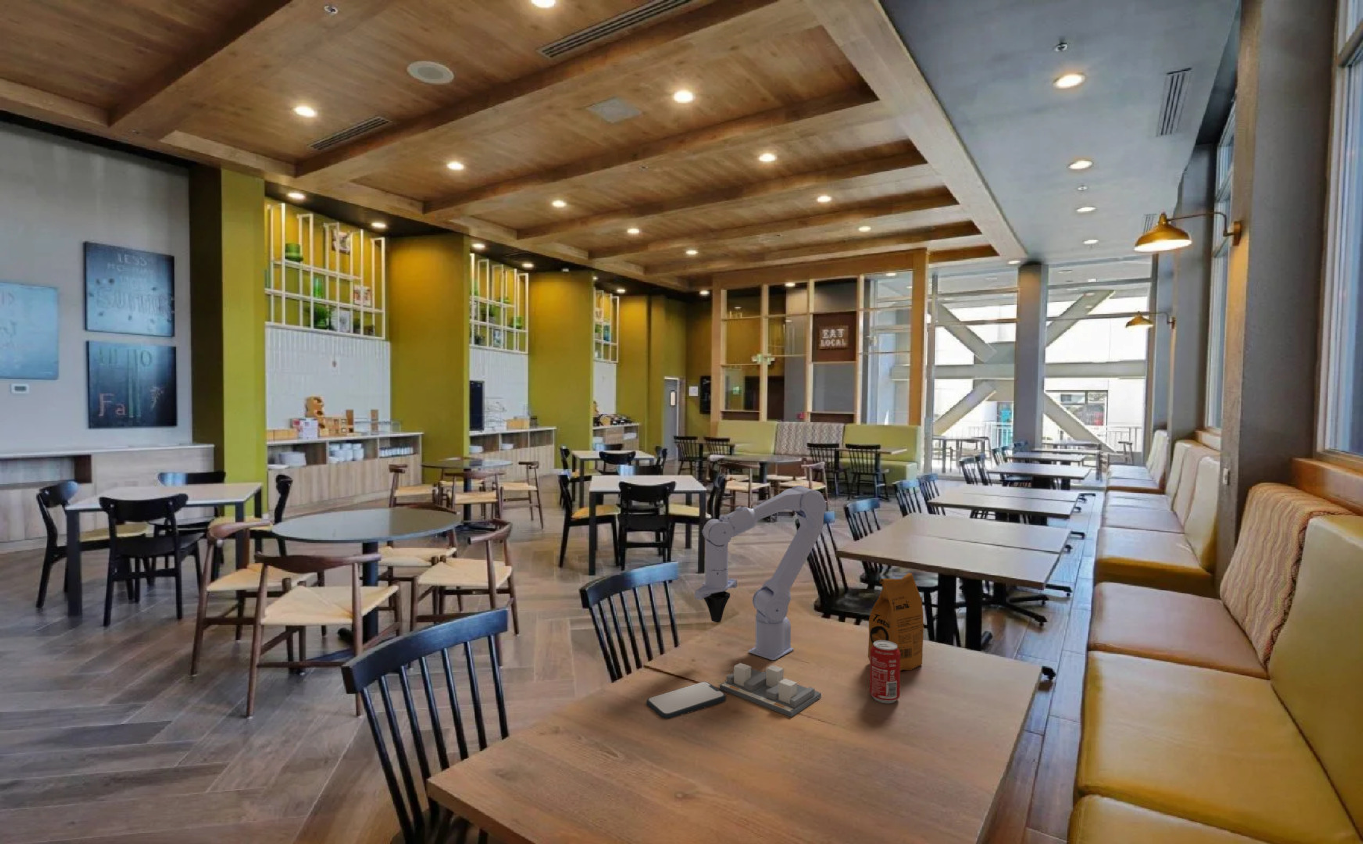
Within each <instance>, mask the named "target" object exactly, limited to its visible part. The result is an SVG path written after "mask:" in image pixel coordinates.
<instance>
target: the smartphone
mask: <svg viewBox="0 0 1363 844" xmlns="http://www.w3.org/2000/svg"><path fill="white" fill-rule="evenodd" d="M726 697H727V695H726V693H724V691H723V690H720V689H718V688H717V687H715V685H713V684H711V683H710V682H707V681H700V682H698V683H694V684H691V685H687V686H684V687H681V688H677V689H674V690H671V691H667V692H665V693H661V694H658V695H655V696H651V697H649V698H647V699H646V705H647V707H648V708H650V709H651V710H652V711H653V712H655V714H656V715H658V716H660V718H662V719H667V720H668V719H673V718H675V717H678V716H681V714H683V715H685V714H689V713H692V712H691V711H693V712H697V711H699V710H702V709H704V707H706V708H708V707H711V706H715V705H718V703H719V704H722V703H725V701H726V699H727V698H726ZM701 708H702V709H701ZM698 709H699V710H698ZM688 712H689V713H688Z"/></svg>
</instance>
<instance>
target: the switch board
mask: <svg viewBox="0 0 1363 844" xmlns="http://www.w3.org/2000/svg"><path fill="white" fill-rule="evenodd" d="M787 679H788V680H790V679H789V678H787ZM815 689H816V688H814V687H812V686H809V687H805V686H802V685H800V684H797V695H796V696H795V697H793V698H791V699H790V704H788V703H786V702H783V701H780V700H779V683H778V684H777V685H775V686H773V687H770V686H767V685H766V670H764V671H760V670H756V669H754V668H752V666H751V679H749V680H747V681H745V682H744V687H743V686H740V685H738V684H735V683H734V672H732V673H730V674H728V675H726V681H724V682H722V683H720V684H719V690H720V691H722V692H726V693H728V694H730V695H734V696H736V697H738V698H741V699H744V700H746V701H749V702H752V703H754V704H756V705H759V706H761V707H764V708H766V709H769V710H771V711H774V712H777V713H780V714H781V715H784V716H787V717H790V718H793V717H794V716H795V715H797V714H799V713H800V712H802V711H803V710H805V709H806V708H807V707H810V706H811V705H812V704H813V703H815V702H817V700H819V699H821V698H822V692H820V691H817V690H815Z"/></svg>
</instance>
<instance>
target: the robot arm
mask: <svg viewBox="0 0 1363 844" xmlns="http://www.w3.org/2000/svg"><path fill="white" fill-rule="evenodd" d="M827 507H828V505H827V503H826V500H825V498H824V494H822V493H821V492H820V491H819V490H815V489H811V488H808V487H805V486H803V485H795V486H793V487H791V488H787V489H785V490H783V491H781V493H779V494H777V495H774V496H772V497H771V498H769V499H767V500H765V501H763V502H761V503H759V504H757V505H756V506H754V507H752V508H750V507H748V506H740V505H739V506H737V507H735V510H734V511H732V512H730V513H727V514H725V515H724V514H721V515H719V516H718V517H719V518H718V519H717V518H711V519H709V520H708V521H706V522H705V524H704V526H703V529H702V530H701V534H702V537H704V539H705V549H704V550H705V551H704V552H705V553H704V556H705V557H704V558H705V559H704V570H705V571H704V578H705V579H704V581H703V582H702V583H701V584H702V586H701V587H699V588H697V589H696V590H694V599H696V600H699V601H703V600H704V602H705V603H706V606H707V608H708V611H709V616H710V619H711V622H713V623H717V624H718V623H720V622H722V618H723V614H724V612H725V607H726V605H727V603H728V601H729V599H730V598H731V593H730V592H729V591H728V592H727V590H729V589H732V588H733V589H735V588H737V587H738V580H737V579H734V578H729V577H728V576H729V564H728V563H729V551H728V550H729V549H728V547H729V546H728V545H729V543H730V542H731V539H732V538H735V537H736V536H738V535H740V534H743V533H745V532H747V531H749V530H751V529H753V528H755V527H756V525H757V523H758V521H760V520H763V519H764V518H766V517H769V516H772V515H773V514H777V513H779V512H781V511H784V510H789V511H794V513H795V514H796V516H797V518H798V521H799V528H798V529H797V531H796V533H795V535H794V537H793V538H792V539H791V542H790V543H789V546H788V547H787V549H786V551H785V553H784V555H783V557H782V559H781V560H780V562H779V564H778V566H777V567H776V569H775V571H774V573H773V575H772V577H771V578H769V579H768V580H766V581H764V583H762V585H761V587H759V589H757V590H756V591H755V592H754V593H753V596H752V599H751V600H752V605H753V607H754V609H755V610H756V614H755V646H754V647H752V648H751V649H748V653H750V654H753V655H755V656H759V657H762V658H765V659H767V660H771V661H775V660H777V659H778V660H779V658H781V657H783V656H785V655H788V654H789V653H791V652H792V651H794V650H795V649H794V647H792V643H791V641H792V638H791V637H792V635H791V634H792V627H791V626H792V625H791V622H790V620H789V618H788V617H787V614H788V612H789V605H790V603H791V600H792V595H791V588H792V586H793V584H794V583H795V581H796V579H797V577H798V575H799V573H800V572H801V570H802V568H803V566H804V564H805V563H806V560H807V558H809V556H810V553H811V551H812V550H813V547H814V546H815V544H816V542H817V540H818V539H819V537H820V535H821V533H822V531H823V528H824V518H825V517H824V516H825V511H826V509H827Z"/></svg>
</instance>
